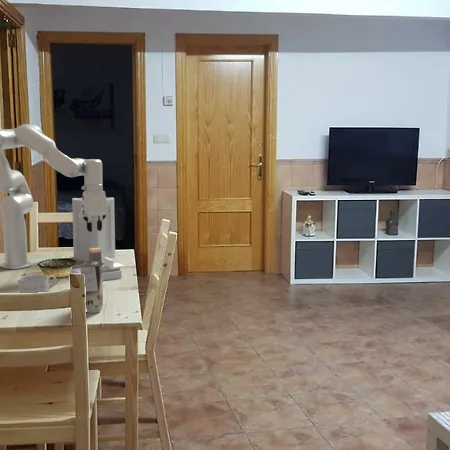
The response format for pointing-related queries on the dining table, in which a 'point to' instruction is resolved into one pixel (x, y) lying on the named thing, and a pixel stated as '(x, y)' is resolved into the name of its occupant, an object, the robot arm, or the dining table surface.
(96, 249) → the plug
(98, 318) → the dining table surface
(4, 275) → the dining table surface
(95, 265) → the coffee box
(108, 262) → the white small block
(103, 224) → the tall white carton
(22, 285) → the teacup
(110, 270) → the socket
